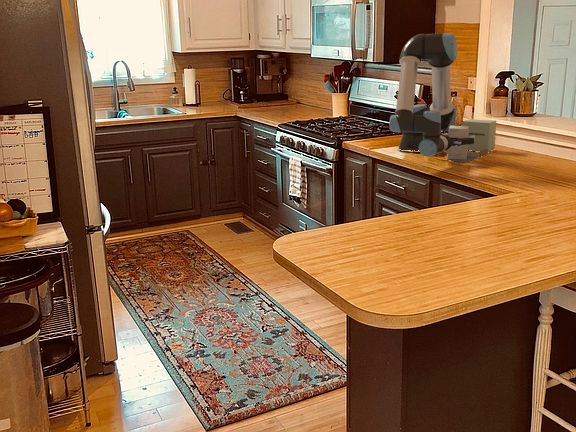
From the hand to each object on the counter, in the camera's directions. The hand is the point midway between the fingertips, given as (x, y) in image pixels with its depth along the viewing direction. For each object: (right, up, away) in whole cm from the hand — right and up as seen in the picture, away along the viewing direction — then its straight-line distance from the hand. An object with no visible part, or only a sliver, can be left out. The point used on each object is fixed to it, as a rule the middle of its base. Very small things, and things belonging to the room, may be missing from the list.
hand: (460, 136), depth 300 cm
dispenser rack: (+10, -6, +14) cm, 18 cm away
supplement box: (-1, -10, +1) cm, 10 cm away
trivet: (-1, -10, +1) cm, 10 cm away
